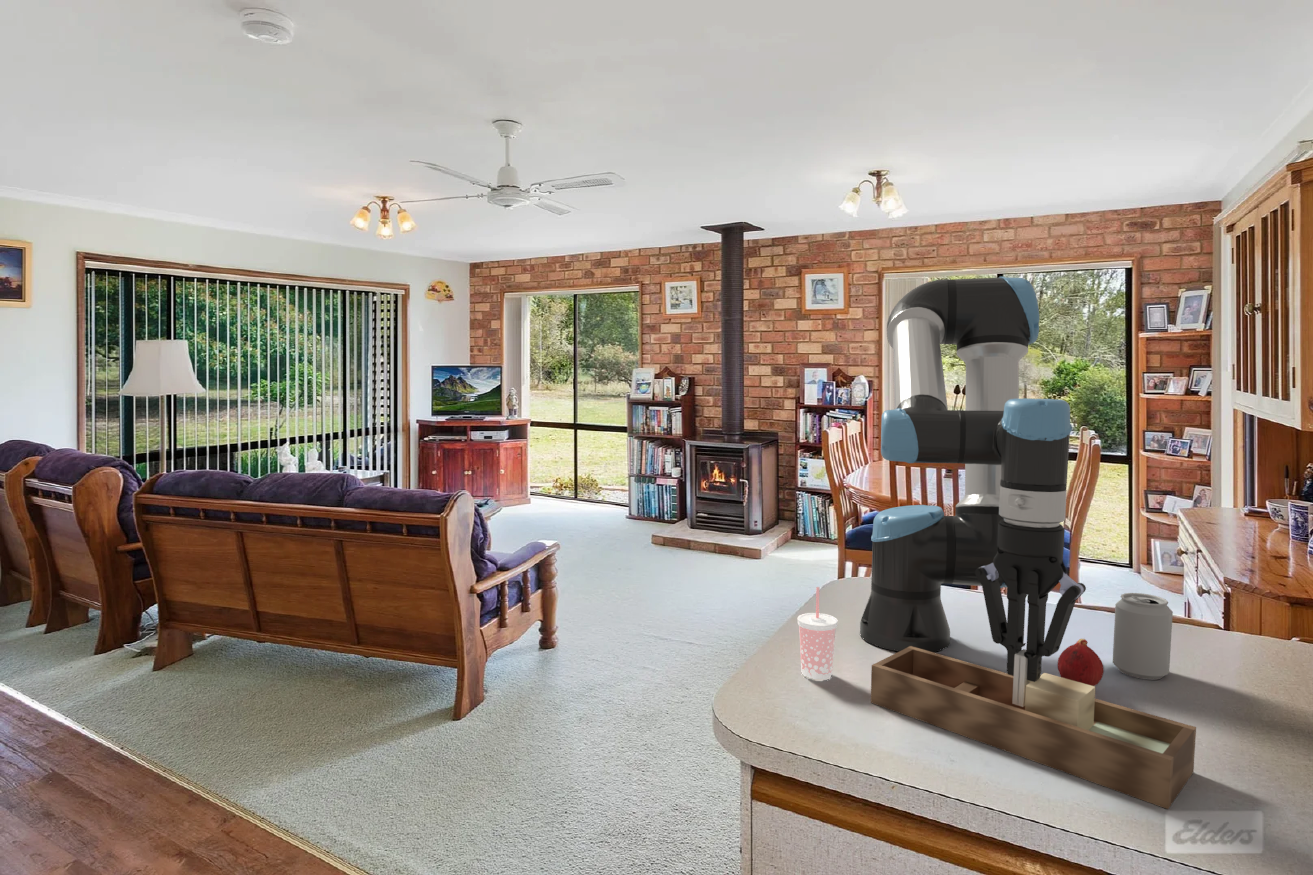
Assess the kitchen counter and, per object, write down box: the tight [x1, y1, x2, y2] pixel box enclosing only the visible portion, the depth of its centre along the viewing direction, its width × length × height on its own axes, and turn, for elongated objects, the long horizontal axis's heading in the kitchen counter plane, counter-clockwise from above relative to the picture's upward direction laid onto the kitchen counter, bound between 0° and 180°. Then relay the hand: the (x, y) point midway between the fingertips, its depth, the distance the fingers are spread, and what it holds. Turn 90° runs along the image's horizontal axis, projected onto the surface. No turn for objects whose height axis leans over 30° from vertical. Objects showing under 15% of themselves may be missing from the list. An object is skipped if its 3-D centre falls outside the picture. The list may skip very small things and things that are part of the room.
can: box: [1112, 592, 1174, 681], centre depth 117 cm, size 8×8×12 cm
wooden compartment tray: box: [870, 646, 1197, 810], centre depth 98 cm, size 36×11×6 cm, turn 43°
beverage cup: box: [796, 586, 839, 679], centre depth 116 cm, size 6×6×14 cm
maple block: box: [1025, 672, 1096, 730], centre depth 94 cm, size 6×6×5 cm
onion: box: [1057, 638, 1104, 687], centre depth 110 cm, size 6×6×8 cm
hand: (1022, 701), depth 97 cm, fingers closed
